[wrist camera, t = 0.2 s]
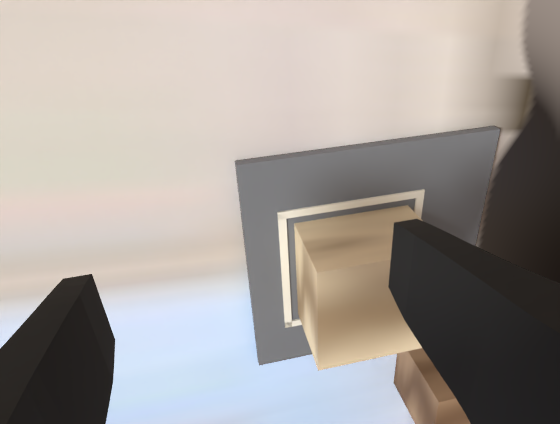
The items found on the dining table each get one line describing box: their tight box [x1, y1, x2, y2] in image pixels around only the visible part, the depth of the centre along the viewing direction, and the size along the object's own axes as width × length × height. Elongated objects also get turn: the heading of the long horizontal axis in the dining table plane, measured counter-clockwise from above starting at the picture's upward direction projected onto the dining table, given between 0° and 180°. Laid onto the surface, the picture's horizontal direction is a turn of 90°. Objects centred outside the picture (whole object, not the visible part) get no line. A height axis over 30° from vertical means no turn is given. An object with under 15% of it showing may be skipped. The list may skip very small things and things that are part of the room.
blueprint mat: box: [235, 126, 500, 365], centre depth 24 cm, size 13×13×1 cm
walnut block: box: [394, 348, 471, 424], centre depth 27 cm, size 4×4×5 cm
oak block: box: [294, 205, 423, 370], centre depth 22 cm, size 6×6×4 cm
